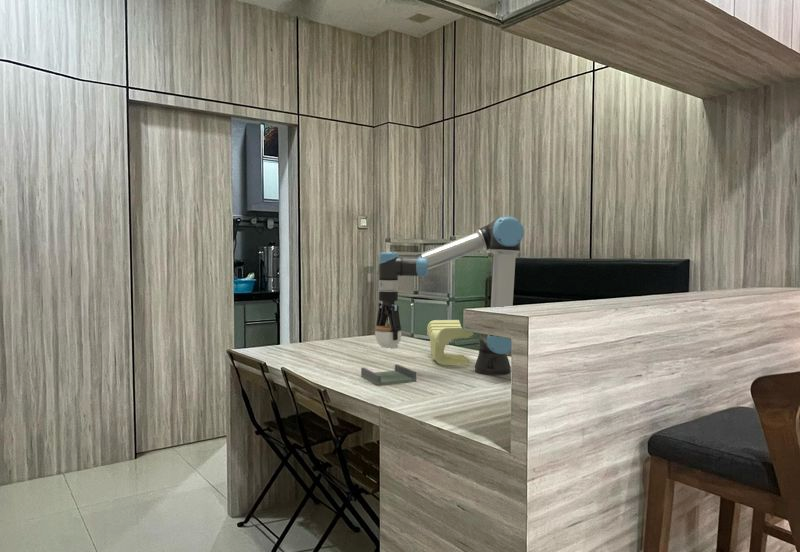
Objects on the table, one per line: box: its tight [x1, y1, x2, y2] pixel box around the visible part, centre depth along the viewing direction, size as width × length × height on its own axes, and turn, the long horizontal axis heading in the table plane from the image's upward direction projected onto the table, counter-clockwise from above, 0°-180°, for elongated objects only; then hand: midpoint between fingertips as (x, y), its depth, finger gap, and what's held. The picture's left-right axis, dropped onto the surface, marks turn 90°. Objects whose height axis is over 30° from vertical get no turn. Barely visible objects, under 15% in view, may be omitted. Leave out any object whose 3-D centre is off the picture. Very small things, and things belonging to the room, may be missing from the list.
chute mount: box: [360, 363, 417, 387], centre depth 213 cm, size 16×17×4 cm
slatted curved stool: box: [426, 319, 475, 366], centre depth 249 cm, size 30×16×18 cm, turn 7°
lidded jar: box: [374, 322, 403, 349], centre depth 212 cm, size 11×11×9 cm
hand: (388, 346), depth 212 cm, fingers closed on lidded jar, 11 cm apart
